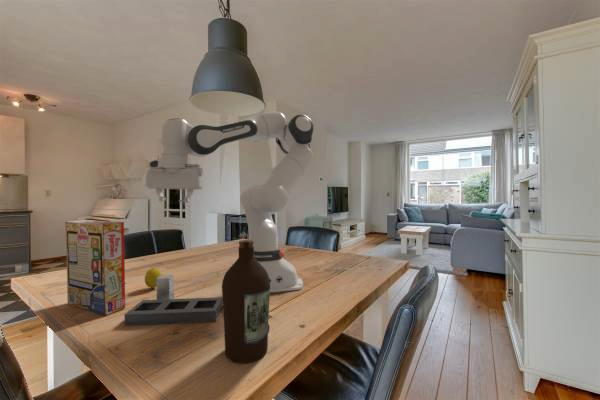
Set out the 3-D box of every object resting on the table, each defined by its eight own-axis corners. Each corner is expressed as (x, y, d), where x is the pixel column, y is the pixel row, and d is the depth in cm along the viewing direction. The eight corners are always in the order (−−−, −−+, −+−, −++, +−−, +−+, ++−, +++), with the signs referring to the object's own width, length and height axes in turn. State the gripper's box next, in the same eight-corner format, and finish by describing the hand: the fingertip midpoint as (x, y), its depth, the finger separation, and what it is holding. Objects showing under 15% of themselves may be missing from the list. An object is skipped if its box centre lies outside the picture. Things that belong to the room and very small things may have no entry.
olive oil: (212, 352, 60) (212, 241, 60) (250, 333, 68) (249, 235, 68) (242, 372, 53) (241, 247, 53) (279, 349, 62) (279, 240, 61)
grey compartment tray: (222, 306, 85) (222, 297, 85) (215, 321, 75) (215, 311, 75) (142, 309, 82) (142, 300, 82) (124, 325, 73) (124, 314, 72)
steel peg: (173, 297, 92) (173, 274, 92) (169, 302, 88) (169, 278, 88) (161, 298, 92) (161, 275, 91) (156, 303, 88) (156, 278, 87)
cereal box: (126, 308, 84) (124, 221, 83) (104, 316, 78) (103, 223, 77) (87, 297, 92) (86, 219, 91) (65, 304, 86) (63, 220, 86)
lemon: (154, 291, 98) (154, 269, 97) (141, 290, 99) (141, 269, 99) (165, 286, 103) (164, 265, 103) (152, 285, 104) (152, 265, 104)
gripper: (206, 165, 100) (205, 202, 101) (154, 164, 102) (154, 200, 103) (198, 163, 94) (198, 202, 95) (143, 162, 96) (143, 201, 96)
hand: (174, 201), depth 99 cm, fingers open, 8 cm apart
